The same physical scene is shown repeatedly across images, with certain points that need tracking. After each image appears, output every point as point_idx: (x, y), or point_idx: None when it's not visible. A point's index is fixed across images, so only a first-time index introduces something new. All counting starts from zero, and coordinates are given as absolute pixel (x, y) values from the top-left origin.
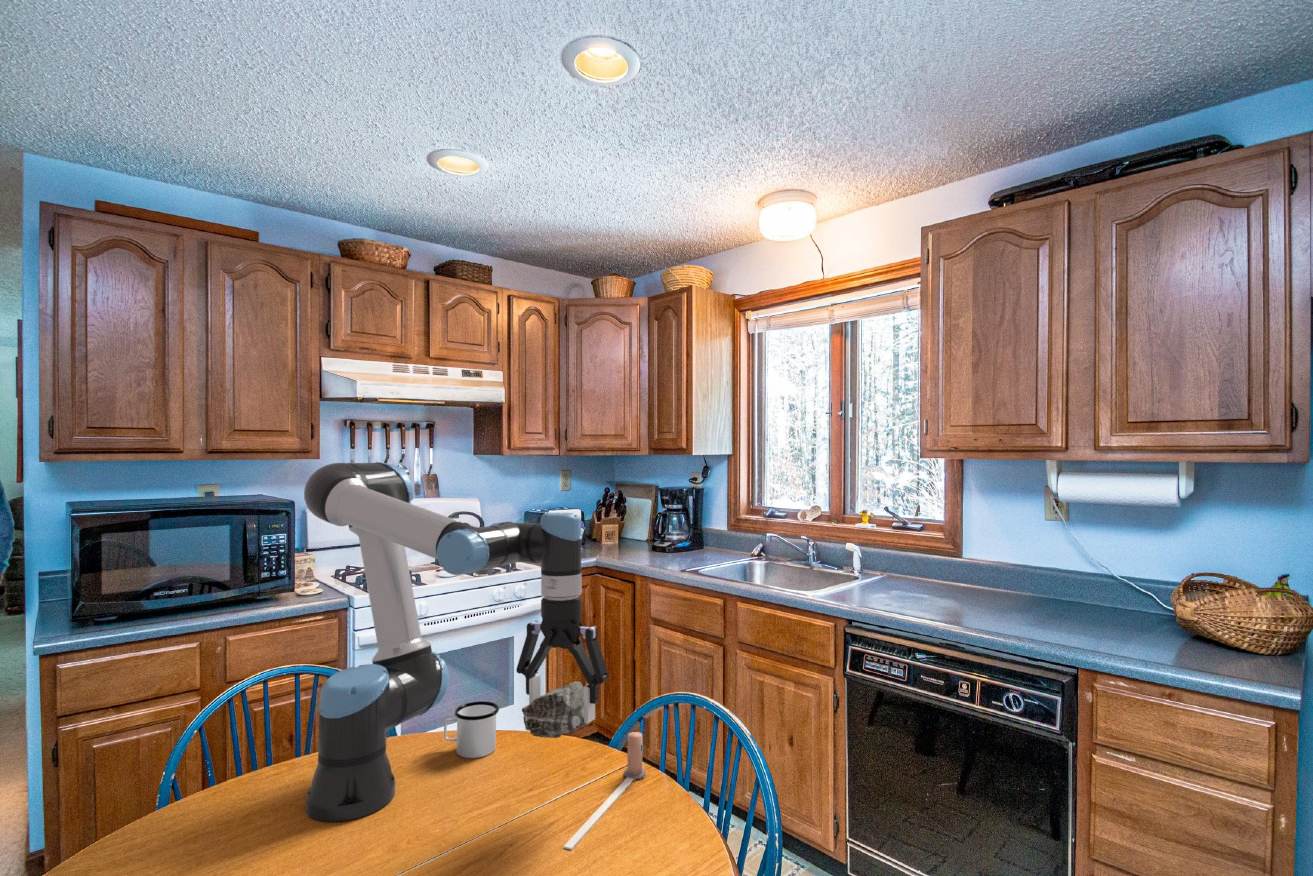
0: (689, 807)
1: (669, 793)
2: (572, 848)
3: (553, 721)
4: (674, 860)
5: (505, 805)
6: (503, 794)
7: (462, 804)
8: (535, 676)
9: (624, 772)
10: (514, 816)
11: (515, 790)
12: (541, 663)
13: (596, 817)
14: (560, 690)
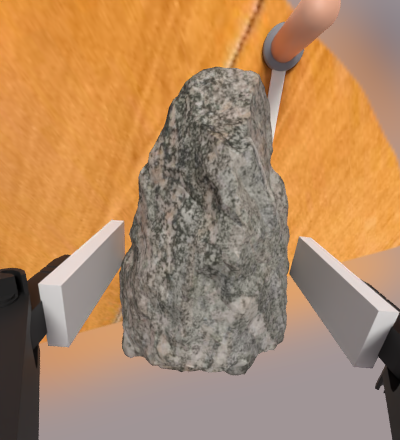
0: (380, 133)
1: (349, 99)
2: None
3: (241, 371)
4: (361, 249)
5: (127, 207)
6: (106, 182)
7: (72, 221)
8: (48, 307)
9: (266, 56)
10: None
11: (115, 166)
12: (26, 368)
13: None
14: (220, 321)
